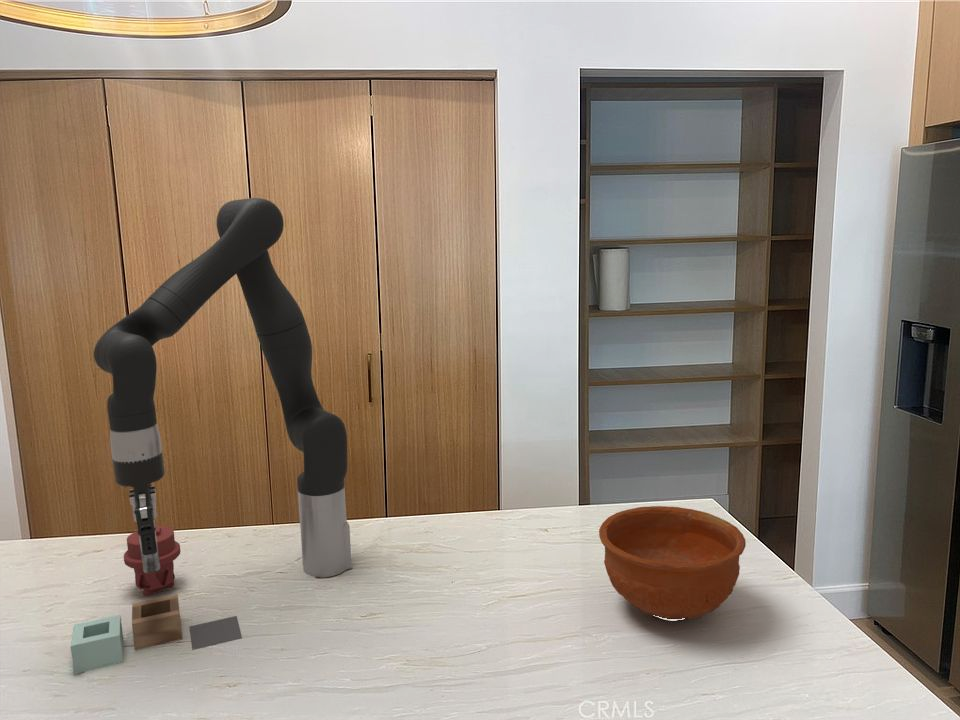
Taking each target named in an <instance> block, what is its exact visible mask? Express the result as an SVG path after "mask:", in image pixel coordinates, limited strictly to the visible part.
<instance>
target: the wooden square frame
mask: <svg viewBox="0 0 960 720" xmlns="http://www.w3.org/2000/svg"><path fill="white" fill-rule="evenodd" d="M180 612H181V611H180V603H179V594H177V593H176V594H171V595H166V596H162V597H157V598H153V599H147V600H142V601H137V602H133V603H132V604H131V627H132V629H131V630H132V637H133V643H134V644H133V645H134V650H135V651H137V650H141V649H145V648H150V647H154V646H158V645H164V644H167V643H168V644H169V643H171V642H176V641H180V640H183V632H182V622H181V613H180Z"/></svg>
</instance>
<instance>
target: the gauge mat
mask: <svg viewBox="0 0 960 720" xmlns="http://www.w3.org/2000/svg"><path fill="white" fill-rule="evenodd" d="M188 627H189V628H188V629H189V635H190V644H191V650H192V651H194V650H198V649H204V648H207V647H211V646H212V647H213V646H216V645H220V644H225V643H229V642H233V641H236V640H241V639H243V635H242V631H241V627H240V623H239V620H238V617H237V615H234V616H229V617H224V618H220V619H216V620H213V621H208V622H207V621H206V622H204V623H203V622H202V623H199V624H194V625H189V626H188Z"/></svg>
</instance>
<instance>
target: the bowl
mask: <svg viewBox="0 0 960 720" xmlns="http://www.w3.org/2000/svg"><path fill="white" fill-rule="evenodd" d="M598 536H599V539H600V542H601V544H602V545H603V547H604V560H603V562H604V563H603V564H604V566H605V570H606V574H607V575H608V576H607V577H609V578H608V579H609V581H610V583H611V586H612V587H613V588H614V590H615V591H616V592H617V593H618V594H619V595H620V596H621V597H622V598H624V599H625V601H627V602H628V603H629V604H630V605H632V606H633V607H634V608H637V609H638V610H640V611H642V612H644V613H646V614H649V615H651V616H652V615H655V616H659V617H662V618H667V619H682V618H687V619H694V618H699V617H702V616H704V615H706V614H708V613H709V614H710V613H713V611H715V610H716V609H718V608H720V607H721V605H723V603H724V602H725V601H726V600H727V599H728V597H729V596H730V595H732V594H733V591H734V588H735V586H736V583H737V582H738V578H739V576H740V572H741V571H740V567H741V565H740V556H741V555H742V554H743V553H744V550H745V548H746V545H747V544H746V543H747V541H746V538H745V536H744V534H743V533H742V532H741V531H740V529H739V528H738V527H737V526H735V524H732V523H731V522H729V521H727V520H725V519H723V518H720V517H719V516H716V515H714V514H711V513H708V512H705V511H701V510H697V509H693V508H685V507H677V506H663V505H654V506H650V505H649V506H638V507H634V508H630V509H625V510H621V511H618V512H615V513H614V514H612V515H611V516H609V517H606V519H605V520H603V522H602V523H601V525H600V527H599V529H598ZM687 619H686V620H687Z"/></svg>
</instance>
